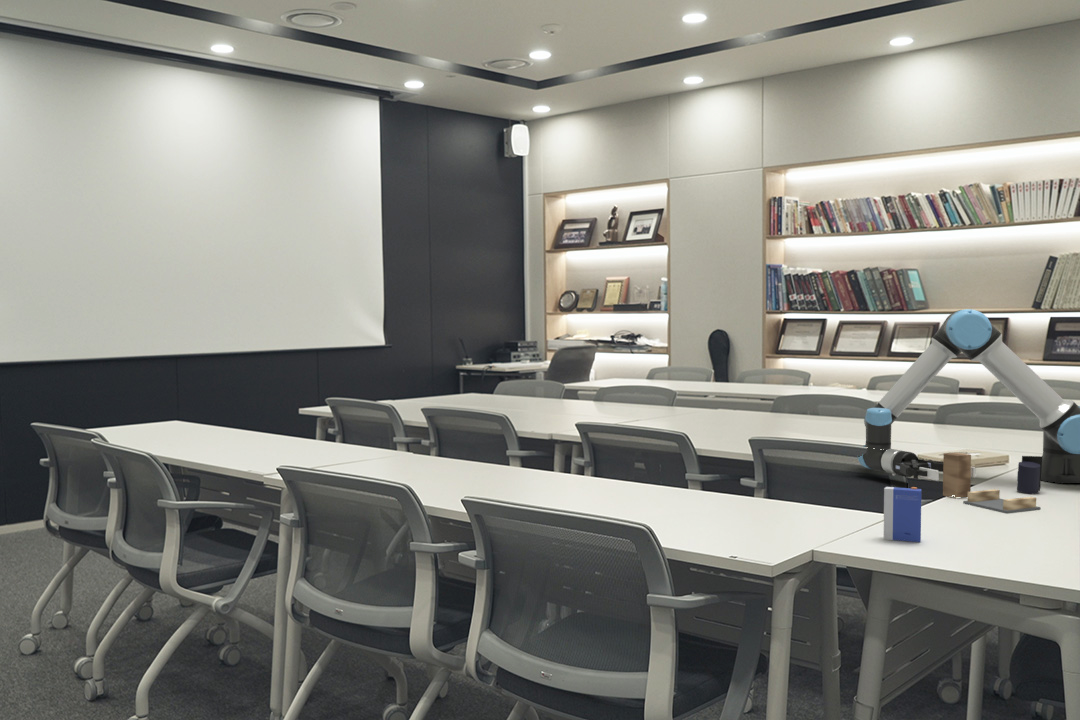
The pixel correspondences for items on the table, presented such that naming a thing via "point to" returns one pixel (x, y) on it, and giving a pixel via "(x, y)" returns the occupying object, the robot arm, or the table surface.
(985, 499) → the end caps
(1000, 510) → the mat
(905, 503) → the walkman
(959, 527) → the table surface
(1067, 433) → the robot arm
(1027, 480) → the speaker
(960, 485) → the brown wooden block
